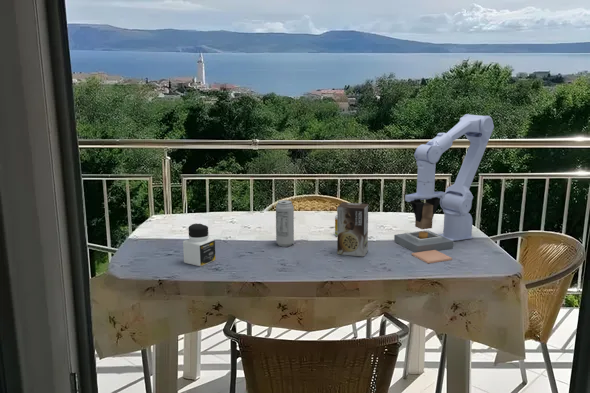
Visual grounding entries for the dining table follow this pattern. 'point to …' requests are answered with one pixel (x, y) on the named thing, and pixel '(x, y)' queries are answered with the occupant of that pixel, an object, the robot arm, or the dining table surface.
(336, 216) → the supplement bottle
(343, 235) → the coffee box
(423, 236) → the button
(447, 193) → the robot arm
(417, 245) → the grey square socket base
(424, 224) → the brown rectangular block
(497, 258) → the dining table surface
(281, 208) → the energy drink can
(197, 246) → the medicine bottle
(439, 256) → the terracotta tile
